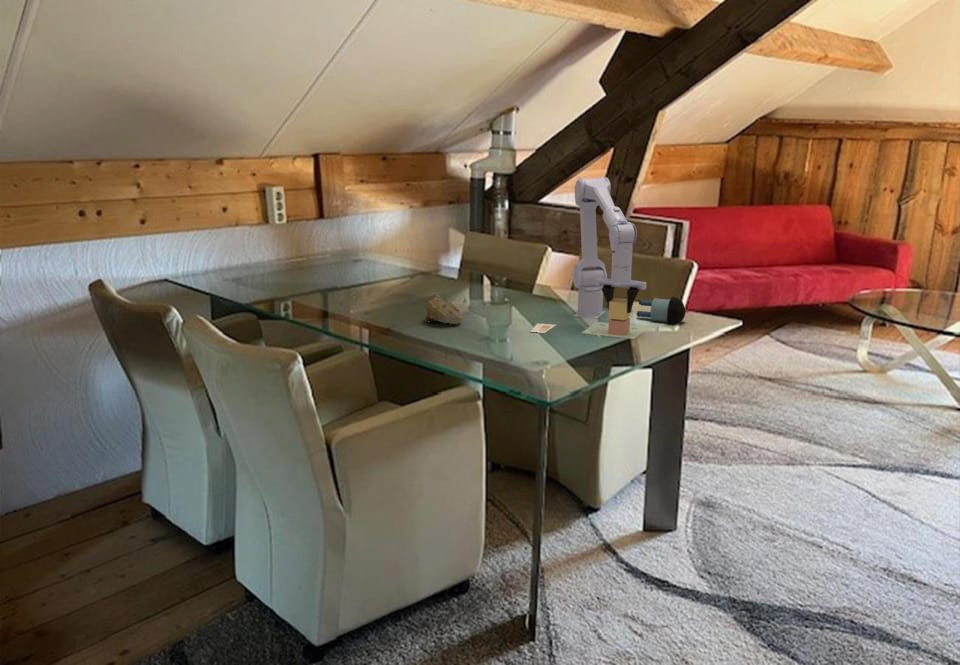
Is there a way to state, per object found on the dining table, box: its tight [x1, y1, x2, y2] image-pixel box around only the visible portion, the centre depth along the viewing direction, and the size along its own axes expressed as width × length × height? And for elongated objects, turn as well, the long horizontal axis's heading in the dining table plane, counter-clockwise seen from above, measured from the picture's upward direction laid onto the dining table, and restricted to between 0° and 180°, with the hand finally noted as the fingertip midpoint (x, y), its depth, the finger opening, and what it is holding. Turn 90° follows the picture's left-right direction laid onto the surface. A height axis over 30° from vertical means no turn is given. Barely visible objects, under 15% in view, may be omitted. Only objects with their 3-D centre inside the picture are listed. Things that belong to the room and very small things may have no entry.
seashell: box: [425, 293, 464, 325], centre depth 232 cm, size 11×14×10 cm
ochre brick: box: [608, 297, 631, 320], centre depth 216 cm, size 5×5×5 cm
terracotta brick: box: [608, 317, 631, 335], centre depth 218 cm, size 5×5×4 cm
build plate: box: [581, 321, 648, 340], centre depth 221 cm, size 14×16×1 cm
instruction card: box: [529, 323, 557, 334], centre depth 225 cm, size 10×7×1 cm
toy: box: [636, 296, 686, 325], centre depth 230 cm, size 8×9×15 cm
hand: (619, 311), depth 217 cm, fingers closed on ochre brick, 5 cm apart
